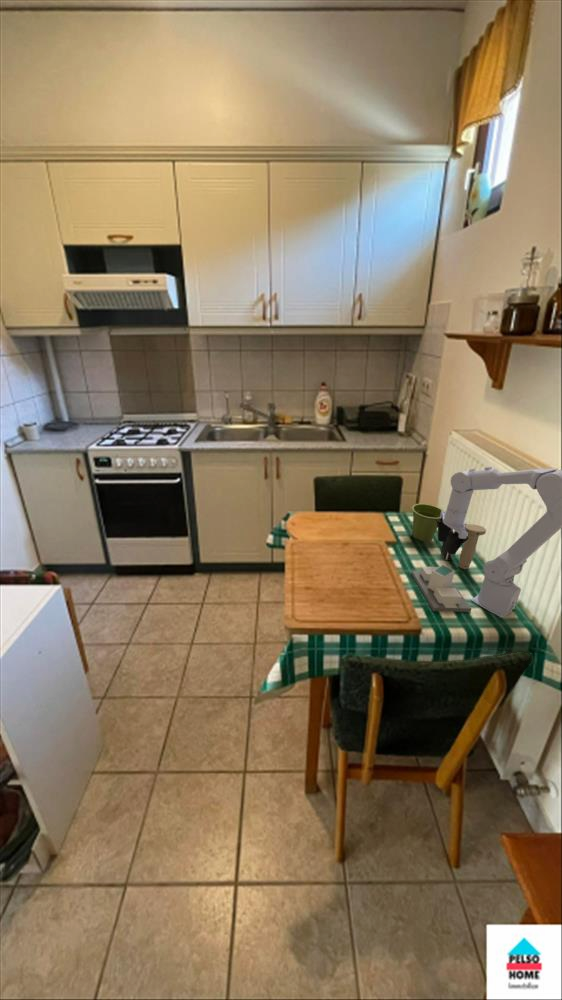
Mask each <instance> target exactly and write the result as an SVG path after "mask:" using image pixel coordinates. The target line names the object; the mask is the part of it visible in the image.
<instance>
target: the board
mask: <svg viewBox="0 0 562 1000" xmlns="http://www.w3.org/2000/svg"><path fill="white" fill-rule="evenodd" d="M438 567H439V566H424V565H423V566H421V568H420V570H412V571H411V576H412V577H413V580H414V581H415V583H416V584H417V586H418V587H419V590H420V591H421V593H422V594H423V596H424V597H425V600H426V601H427V603H428V604H429V606H430V608H431V609H432V611H433V612H457V613H459V612H460V613H461V612H462V613H471V612H472V607H471V606H470V604H469V603H468V602H467V600H466V599H465V597H464V596H463V594H462V593H461V591H459V589H458V588H457V586H456V585H455V583H454V582H453V581H452V583H451V586H450V588H435V592H434V591H433V590H431V589H429V588H428V584H429V581H430V577H431V573H432V571H433V570H434V569H436V568H438Z"/></svg>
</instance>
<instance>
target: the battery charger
mask: <svg viewBox="0 0 562 1000" xmlns="http://www.w3.org/2000/svg"><path fill="white" fill-rule="evenodd" d="M449 533H455V531H454V530H453V529H451V530H450V531H449ZM448 547H449V536H447V539H446V541H445V542H442V544H441V548H440V551H441V555H442V559H444V560H445V561H453V558H454V556H453V554H448Z"/></svg>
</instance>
